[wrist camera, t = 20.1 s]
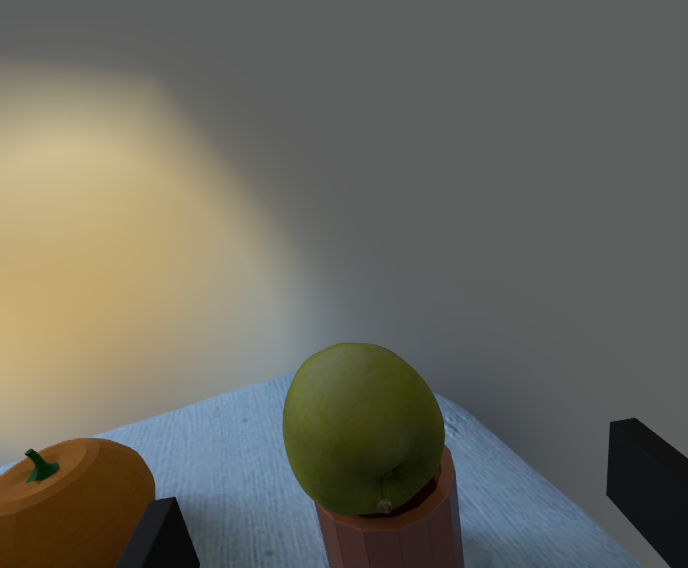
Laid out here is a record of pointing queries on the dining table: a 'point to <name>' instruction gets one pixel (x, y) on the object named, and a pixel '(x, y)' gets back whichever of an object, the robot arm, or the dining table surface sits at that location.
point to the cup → (401, 530)
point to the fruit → (72, 505)
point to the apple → (361, 429)
